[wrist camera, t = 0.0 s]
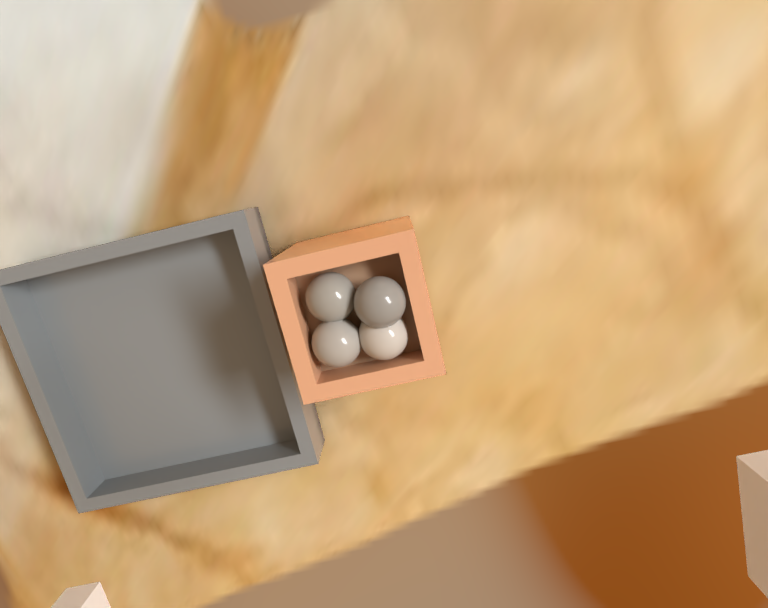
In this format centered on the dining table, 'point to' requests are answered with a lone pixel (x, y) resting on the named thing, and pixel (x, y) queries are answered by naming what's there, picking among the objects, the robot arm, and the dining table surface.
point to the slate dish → (159, 362)
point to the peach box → (355, 311)
